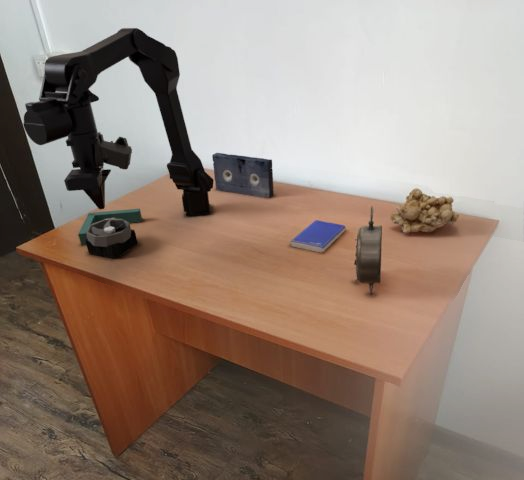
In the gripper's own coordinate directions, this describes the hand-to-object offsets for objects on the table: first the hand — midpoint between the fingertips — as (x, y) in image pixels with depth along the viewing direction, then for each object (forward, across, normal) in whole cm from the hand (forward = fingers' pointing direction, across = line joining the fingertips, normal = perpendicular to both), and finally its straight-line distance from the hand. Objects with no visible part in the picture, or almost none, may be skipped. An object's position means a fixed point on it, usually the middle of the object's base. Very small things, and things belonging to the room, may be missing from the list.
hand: (102, 208), depth 106 cm
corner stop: (+13, +18, +4) cm, 23 cm away
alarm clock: (+13, -18, -54) cm, 58 cm away
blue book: (+13, +4, -47) cm, 49 cm away
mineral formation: (+13, +5, -73) cm, 74 cm away
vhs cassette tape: (+13, +38, -30) cm, 50 cm away
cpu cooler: (+13, +8, +2) cm, 15 cm away
